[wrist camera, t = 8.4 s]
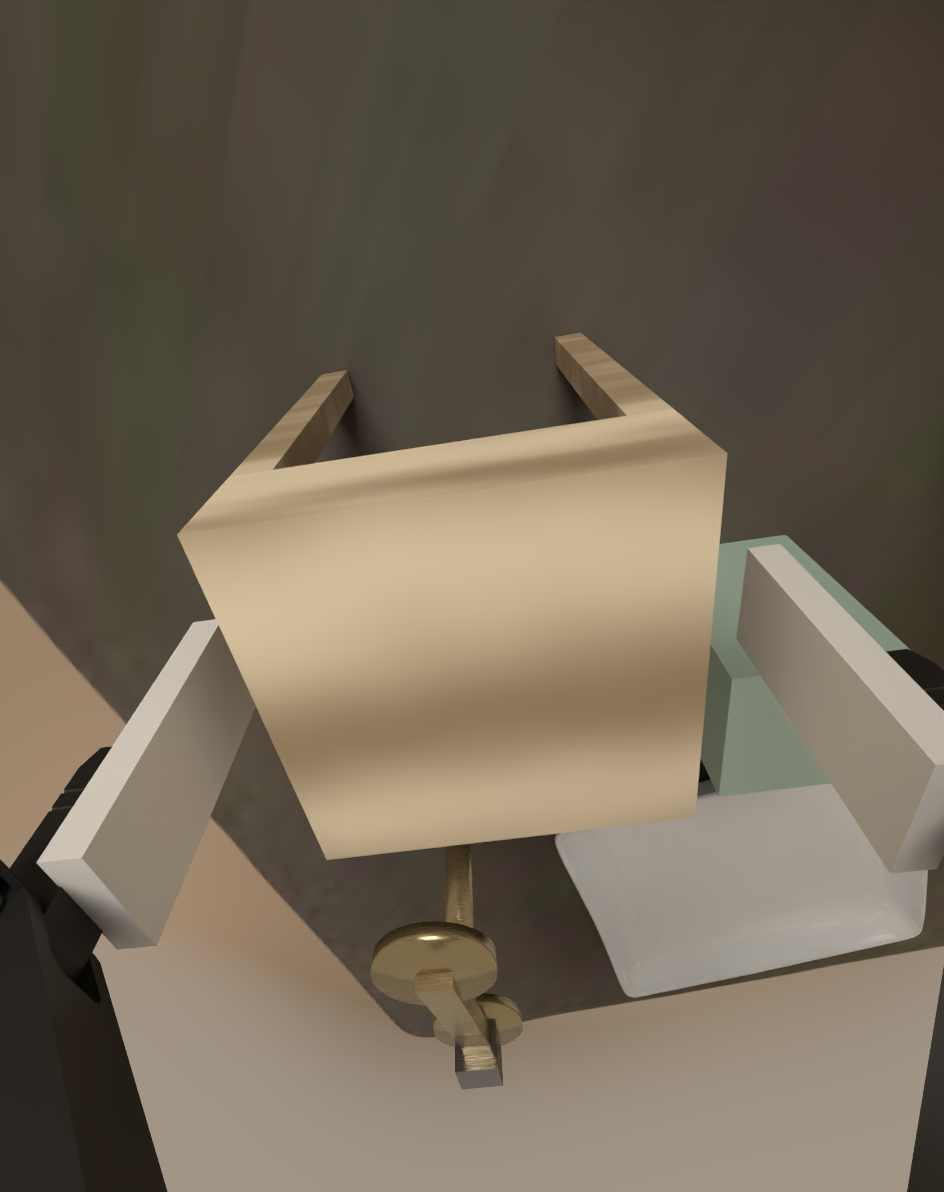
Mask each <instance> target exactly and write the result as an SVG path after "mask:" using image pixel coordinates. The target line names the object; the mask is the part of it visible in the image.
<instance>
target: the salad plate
mask: <svg viewBox="0 0 944 1192" xmlns="http://www.w3.org/2000/svg"><path fill="white" fill-rule="evenodd" d="M555 845H556V848H557V850H558V853H559V855H560V857H561V859H562V861H563V864H564V865H565V867H566V869H567V871H568V873H569V875H570V877H571V879H572V881H573V883H574V885H575V886H576V888H577V890H578V892H579V894H580V896H581V898H582V900H583V902H584V904H585V906H586V907H587V909H588V911H589V913H590V915H591V917H592V919H593V921H594V923H595V926H596V928H597V930H598V932H599V934H600V936H601V939H602V941H603V944H604V946H605V948H606V951H607V953H608V956H609V958H610V960H611V963H612V966H613V968H614V971H615V973H616V975H617V978H618V980H619V983H620V985H621V987H622V989H623V991H624V992H625V993H626V994H627V995H628V996H629V997H635V998H636V997H641V996H647V995H651V994H656V993H660V992H666V991H671V990H676V989H681V988H685V987H690V986H695V985H700V984H705V983H710V982H715V981H720V980H725V979H730V978H735V977H739V976H744V975H749V974H754V973H758V972H763V971H767V970H772V969H776V968H781V967H786V966H790V965H795V964H799V963H803V962H808V961H812V960H817V959H821V958H826V957H831V956H835V955H840V954H844V953H849V952H853V951H858V950H862V949H867V948H871V947H876V946H880V945H884V944H889V943H894V942H898V941H902V940H906V939H910V938H914V937H916V936H917V935H919V934H920V933H921V931H922V928H923V923H924V918H925V910H926V894H927V874H928V870H922V871H912V872H902V873H892V874H890V873H889V871H888V870H887V868H886V866H885V865H884V863H883V862H882V860H881V859H880V857H879V856H878V854H877V853H876V851H875V850H874V848H873V847H872V845H871V844H870V842H869V841H868V839H867V837H866V836H865V834H864V833H863V831H862V830H861V828H860V827H859V825H858V824H857V822H856V821H855V819H854V818H853V816H852V815H851V813H850V812H849V810H848V808H847V807H846V805H845V804H844V802H843V801H842V799H841V798H840V796H839V795H838V793H837V792H836V790H835V789H834V787H833V786H832V784H831V783H830V784H822V785H813V786H805V787H797V788H788V789H780V790H771V791H763V792H754V793H746V794H737V795H729V796H720V797H719V796H718V794H717V792H716V790H715V788H714V786H713V783H712V781H711V779H710V780H707V781H703V782H699V783H698V792H697V803H696V815H695V818H689V819H680V820H671V821H663V822H654V823H645V824H637V825H628V826H619V827H610V828H602V829H593V830H584V831H575V832H567V833H558V834H556V835H555Z"/></svg>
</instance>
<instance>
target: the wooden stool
mask: <svg viewBox="0 0 944 1192" xmlns="http://www.w3.org/2000/svg"><path fill="white" fill-rule="evenodd" d="M554 341H555V356H556V365H557V367H558V368H559V369H560V371H561V372H562V373H563V375H564V376H565V377H566V379H567V380H568V381H569V383H570V384H571V385H572V387H573V388H574V389H575V391H576V392H577V393H578V395H579V396H580V397H581V399H582V400H583V401H584V402H585V404H586V405H587V406H588V408H589V409H590V410H591V412H592V413H593V414H594V416H595V417H596V418H597V420H595V421H589V422H582V423H576V424H569V425H563V426H556V427H550V428H543V429H537V430H530V431H523V432H517V433H510V434H504V435H497V436H491V437H484V438H478V439H471V440H465V441H458V442H451V443H445V444H438V445H432V446H425V447H419V448H412V449H406V450H399V451H393V452H386V453H379V454H373V455H366V456H360V457H353V458H347V459H340V460H334V461H327V462H321V463H315V461H316V459H317V458H318V456H319V454H320V453H321V451H322V449H323V448H324V446H325V444H326V443H327V441H328V439H329V438H330V436H331V434H332V433H333V431H334V429H335V427H336V426H337V424H338V422H339V421H340V419H341V417H342V416H343V414H344V412H345V411H346V409H347V407H348V406H349V404H350V402H351V401H352V399H353V397H354V396H353V391H352V387H351V383H350V379H349V375H348V371H347V370H346V371H340V372H334V373H328V374H322V375H321V376H320V377H319V378H318V379H317V380H316V382H315V383H314V384H313V385H312V386H311V387H310V388H309V389H308V390H307V392H306V393H305V394H304V395H303V396H302V397H301V398H300V399H299V400H298V402H297V403H296V404H295V405H294V406H293V407H292V408H291V409H290V410H289V411H288V413H287V414H286V415H285V416H284V417H283V418H282V419H281V420H280V421H279V423H278V424H277V425H276V426H275V427H274V428H273V429H272V430H271V431H270V432H269V434H268V435H267V436H266V437H265V438H264V439H263V440H262V441H261V442H260V444H259V445H258V446H257V447H256V448H255V449H254V450H253V451H252V452H251V454H250V455H249V456H248V457H247V458H246V459H245V460H244V461H243V462H242V463H241V465H240V466H239V467H238V468H237V469H236V470H235V471H234V472H233V473H232V475H231V476H230V477H229V478H228V479H227V480H226V481H225V482H224V483H223V484H222V486H221V487H220V488H219V489H218V490H217V491H216V492H215V493H214V494H213V496H212V497H211V498H210V499H209V500H208V501H207V502H206V503H205V504H204V506H203V507H202V508H201V509H200V510H199V511H198V512H197V513H196V514H195V515H194V517H193V518H192V519H191V520H190V521H189V522H188V523H187V524H186V525H185V527H184V528H183V529H182V530H181V531H180V532H179V533H178V534H177V535H178V538H179V540H180V542H181V544H182V546H183V548H184V551H185V553H186V555H187V557H188V559H189V561H190V564H191V566H192V568H193V570H194V572H195V575H196V577H197V579H198V581H199V583H200V585H201V588H202V590H203V592H204V594H205V596H206V598H207V601H208V603H209V605H210V607H211V609H212V611H213V614H214V616H215V618H216V620H217V622H218V625H219V627H220V629H221V631H222V633H223V635H224V638H225V640H226V642H227V644H228V646H229V648H230V651H231V653H232V655H233V657H234V659H235V661H236V664H237V666H238V668H239V670H240V672H241V675H242V677H243V679H244V681H245V683H246V685H247V688H248V690H249V692H250V694H251V696H252V698H253V701H254V703H255V705H256V707H257V709H258V712H259V714H260V716H261V718H262V720H263V722H264V725H265V727H266V729H267V731H268V733H269V735H270V738H271V740H272V742H273V744H274V746H275V748H276V751H277V753H278V755H279V757H280V759H281V762H282V764H283V766H284V768H285V770H286V772H287V775H288V777H289V779H290V781H291V783H292V785H293V788H294V790H295V792H296V794H297V796H298V798H299V801H300V803H301V805H302V807H303V809H304V812H305V814H306V816H307V818H308V820H309V822H310V825H311V827H312V829H313V831H314V833H315V835H316V838H317V840H318V842H319V844H320V846H321V848H322V851H323V853H324V855H325V857H326V859H327V860H331V859H340V858H348V857H357V856H366V855H375V854H383V853H392V852H401V851H410V850H418V849H427V848H436V847H444V846H453V845H462V844H471V843H479V842H488V841H497V840H506V839H514V838H523V837H532V836H540V835H549V834H558V833H567V832H575V831H584V830H593V829H602V828H610V827H619V826H628V825H637V824H645V823H654V822H663V821H671V820H680V819H689V818H695V815H696V803H697V792H698V781H699V769H700V758H701V747H702V735H703V724H704V713H705V701H706V690H707V679H708V667H709V656H710V645H711V633H712V622H713V611H714V599H715V588H716V577H717V565H718V554H719V543H720V531H721V520H722V509H723V497H724V486H725V475H726V463H727V453H726V452H725V451H724V450H723V449H722V448H720V447H719V446H718V445H717V444H715V443H714V442H713V441H712V440H711V439H709V438H708V437H707V436H706V435H705V434H703V433H702V432H701V431H700V430H698V429H697V428H696V427H695V426H694V425H692V424H691V423H690V422H689V421H687V420H686V419H685V418H684V417H683V416H681V415H680V414H679V413H678V412H677V411H675V410H674V409H673V408H672V407H670V406H669V405H668V404H667V403H666V402H664V401H663V400H662V399H661V398H660V397H658V396H657V395H656V394H655V393H653V392H652V391H651V390H650V389H649V388H647V387H646V386H645V385H644V384H642V383H641V382H640V381H639V380H638V379H636V378H635V377H634V376H633V375H632V374H630V373H629V372H628V371H627V370H625V369H624V368H623V367H622V366H621V365H619V364H618V363H617V362H616V361H615V360H613V359H612V358H611V357H610V356H608V355H607V354H606V353H605V352H604V351H602V350H601V349H600V348H599V347H597V346H596V345H595V344H594V343H593V342H591V341H590V340H589V339H588V338H587V337H585V336H584V335H583V334H582V333H576V334H570V335H563V336H557V337H554Z"/></svg>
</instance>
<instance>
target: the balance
mask: <svg viewBox="0 0 944 1192" xmlns="http://www.w3.org/2000/svg"><path fill="white" fill-rule="evenodd" d="M496 978H497V957H496V948H495V946H494V944H493V942H492V941H491V940H490V939H489V938H488V937H487V936H486V935H485V934H483V933H482V932H480V931H478V930H476V929H474V928H473V894H472V859H471V844H462V845H453V846H446V911H445V922H421V923H414V924H410V925H406V926H403V927H400V928H397V929H395V930H393V931H391V932H389V933H387V934H386V935H384V936H383V937H382V938H381V939H380V940H379V941H378V942H377V944H376V945H375V947H374V950H373V956H372V965H371V979H372V982H373V984H374V985H375V987H376V988H377V989H378V990H380V991H381V992H382V993H384V994H385V995H387V996H389V997H391V998H393V999H396V1000H398V1001H402V1002H405V1003H410V1004H416V1005H426V1006H427V1007H428V1009H429V1010H430V1011H431V1012H432V1013H433V1014H434V1035H435V1036H436V1038H437V1039H438V1040H440V1041H441V1042H443V1043H445V1044H447V1045H450V1046H453V1047H455V1073H456V1076H457V1078H458V1081H459V1083H460V1086H461V1088H462V1089H470V1088H481V1087H492V1086H503V1076H502V1075H503V1074H502V1057H501V1045H504V1044H507V1043H509V1042H510V1041H513V1040H514V1039H516V1038H517V1037H518V1036H519V1035H520V1034H521V1032H522V1016H521V1009H520V1007H519V1005H518V1004H517V1003H515V1002H514V1001H513V1000H511V999H509V998H506V997H503V996H500V995H495V994H485V993H484V992H486V991H487V990H488V989H489V988H490V987H491V986H492V985H493V984H494V982H495V981H496Z"/></svg>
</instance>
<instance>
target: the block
mask: <svg viewBox="0 0 944 1192" xmlns="http://www.w3.org/2000/svg"><path fill="white" fill-rule="evenodd" d="M775 544H781V545H782V546H783V547H784V548H785V549H786V550H787V551H788V552H789V553H790V554H791V555H792V556H793V557H794V559H795V560H796V561H797V562H798V563H799V564H800V565H801V566H802V567H803V568H804V569H805V570H806V571H807V572H808V573H809V574H810V575H811V576H812V577H813V578H814V579H815V580H816V581H817V582H818V583H819V584H820V585H821V586H822V587H823V588H824V589H825V590H826V591H827V592H828V593H829V594H830V595H831V596H832V597H833V598H834V599H835V600H836V601H837V602H838V603H839V604H840V605H841V607H842V608H843V609H844V610H845V611H846V612H847V613H848V614H849V615H850V616H851V617H852V618H853V619H854V620H855V621H856V622H857V623H858V624H859V625H860V626H861V627H862V628H863V629H864V630H865V631H866V632H867V633H868V634H869V635H870V636H871V637H872V638H873V639H874V640H875V641H876V642H877V643H878V644H879V645H880V646H881V647H882V648H883V649H884V650H885V651H893V650H901V649H909V648H908V647H907V646H906V645H905V644H904V643H903V642H901V641H900V640H899V639H898V638H897V637H896V636H895V635H894V634H893V633H892V632H891V631H890V630H888V629H887V628H886V627H885V626H884V625H883V624H882V623H881V622H880V621H879V620H878V619H877V618H875V617H874V616H873V615H872V614H871V613H870V612H869V611H868V610H867V609H866V608H865V607H864V606H862V605H861V604H860V603H859V602H858V601H857V600H856V599H855V598H854V597H853V596H852V595H851V594H849V593H848V592H847V591H846V590H845V589H844V588H843V587H842V586H841V585H840V584H839V583H838V582H836V581H835V580H834V579H833V578H832V577H831V576H830V575H829V574H828V573H827V572H826V571H825V570H823V569H822V568H821V567H820V566H819V565H818V564H817V563H816V562H815V561H814V560H813V559H812V558H810V557H809V556H808V555H807V554H806V553H805V552H804V551H803V550H802V549H801V548H800V547H798V546H797V545H796V544H795V543H794V542H793V541H792V540H791V539H790V538H789V537H788V536H787V535H781V536H774V537H767V538H760V539H753V540H746V541H739V542H732V543H725V544H719V554H718V565H717V577H716V588H715V599H714V611H713V622H712V633H711V645H710V656H709V667H708V679H707V690H706V701H705V713H704V724H703V735H702V747H701V760H702V762H703V764H704V766H705V768H706V771H707V773H708V775H709V777H710V779H711V781H712V783H713V786H714V788H715V790H716V792H717V794H718V796H719V797H720V796H729V795H737V794H746V793H754V792H763V791H771V790H780V789H788V788H797V787H805V786H813V785H822V784H830V781H829V780H828V778H827V776H826V775H825V773H824V772H823V770H822V769H821V767H820V766H819V764H818V763H817V761H816V760H815V758H814V757H813V755H812V754H811V752H810V751H809V749H808V747H807V746H806V744H805V743H804V741H803V740H802V738H801V737H800V735H799V734H798V732H797V731H796V729H795V728H794V726H793V725H792V723H791V722H790V720H789V718H788V717H787V715H786V714H785V712H784V711H783V709H782V708H781V706H780V705H779V703H778V702H777V700H776V699H775V697H774V696H773V694H772V693H771V691H770V689H769V688H768V686H767V685H766V683H765V682H764V680H763V679H762V677H761V676H760V674H759V673H758V671H757V670H756V668H755V667H754V665H753V664H752V662H751V661H750V659H749V657H748V656H747V654H746V653H745V651H744V650H743V648H742V647H741V645H740V644H739V642H738V641H737V639H736V637H737V629H738V621H739V613H740V605H741V597H742V589H743V581H744V573H745V565H746V557H747V549H748V548H753V547H760V546H768V545H775ZM909 650H910V649H909Z"/></svg>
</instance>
